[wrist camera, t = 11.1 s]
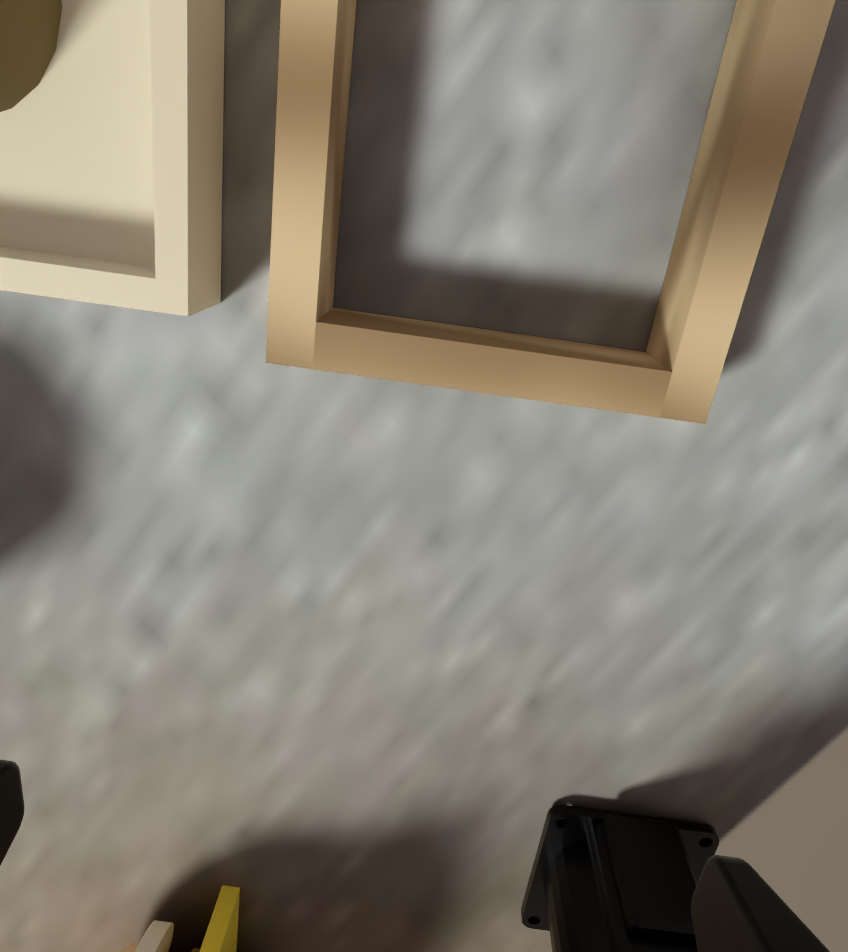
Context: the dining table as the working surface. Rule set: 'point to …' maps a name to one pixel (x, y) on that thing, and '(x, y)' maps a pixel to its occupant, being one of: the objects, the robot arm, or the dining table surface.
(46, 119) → the plastic tray
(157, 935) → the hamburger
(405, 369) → the wooden holder
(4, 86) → the cork
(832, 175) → the dining table surface
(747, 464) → the dining table surface
